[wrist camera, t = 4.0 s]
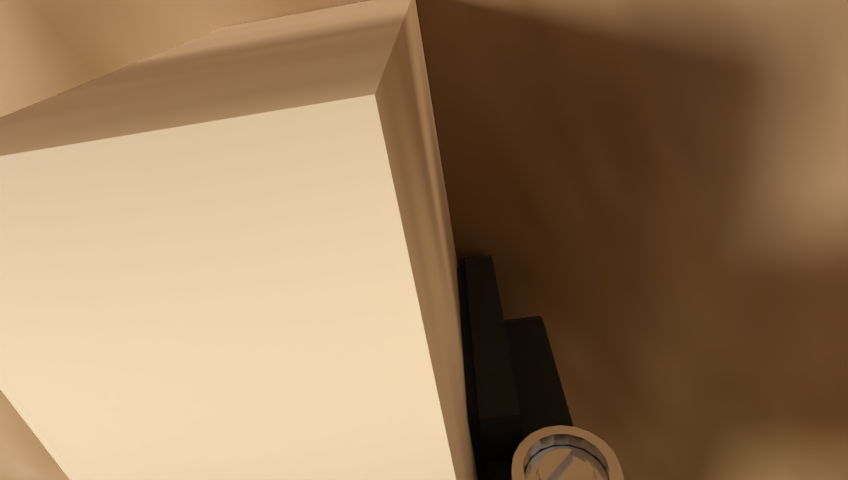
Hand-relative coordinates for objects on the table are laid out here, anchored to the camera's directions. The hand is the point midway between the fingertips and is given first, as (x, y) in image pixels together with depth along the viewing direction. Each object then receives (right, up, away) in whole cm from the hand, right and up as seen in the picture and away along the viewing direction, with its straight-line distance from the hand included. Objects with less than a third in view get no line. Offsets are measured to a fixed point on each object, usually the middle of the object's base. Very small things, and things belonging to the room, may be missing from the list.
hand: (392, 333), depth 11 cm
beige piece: (0, -2, +1) cm, 2 cm away
